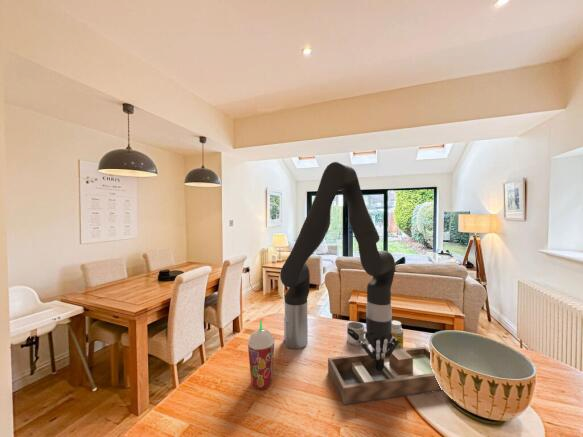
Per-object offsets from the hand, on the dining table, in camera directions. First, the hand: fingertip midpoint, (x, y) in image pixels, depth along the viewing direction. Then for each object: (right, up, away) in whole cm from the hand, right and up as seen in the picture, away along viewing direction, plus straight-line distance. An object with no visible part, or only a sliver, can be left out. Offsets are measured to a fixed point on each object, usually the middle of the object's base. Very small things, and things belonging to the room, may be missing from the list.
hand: (378, 369), depth 78 cm
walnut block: (+8, -1, +1) cm, 8 cm away
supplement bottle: (+14, -3, +20) cm, 24 cm away
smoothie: (-37, -5, 0) cm, 37 cm away
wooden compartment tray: (+4, -4, +1) cm, 5 cm away
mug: (0, -3, +23) cm, 23 cm away
